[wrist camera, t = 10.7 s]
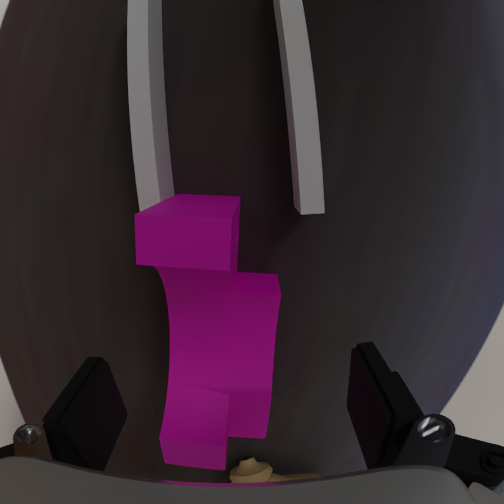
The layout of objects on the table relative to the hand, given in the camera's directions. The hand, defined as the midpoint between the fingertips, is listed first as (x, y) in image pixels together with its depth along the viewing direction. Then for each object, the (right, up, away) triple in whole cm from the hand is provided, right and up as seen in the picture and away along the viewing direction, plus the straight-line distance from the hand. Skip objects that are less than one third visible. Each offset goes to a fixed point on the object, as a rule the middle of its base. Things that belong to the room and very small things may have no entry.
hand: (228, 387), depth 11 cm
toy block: (-1, +1, +10) cm, 10 cm away
